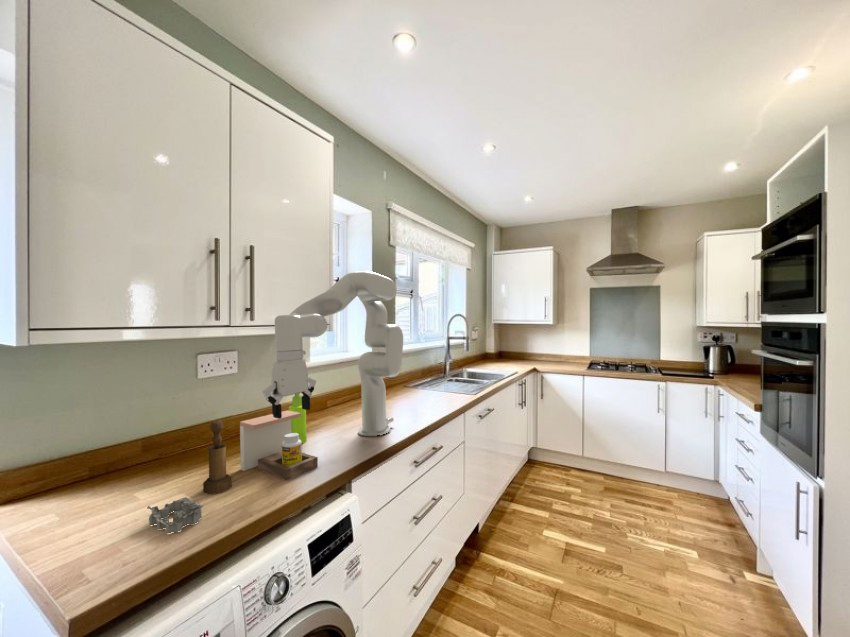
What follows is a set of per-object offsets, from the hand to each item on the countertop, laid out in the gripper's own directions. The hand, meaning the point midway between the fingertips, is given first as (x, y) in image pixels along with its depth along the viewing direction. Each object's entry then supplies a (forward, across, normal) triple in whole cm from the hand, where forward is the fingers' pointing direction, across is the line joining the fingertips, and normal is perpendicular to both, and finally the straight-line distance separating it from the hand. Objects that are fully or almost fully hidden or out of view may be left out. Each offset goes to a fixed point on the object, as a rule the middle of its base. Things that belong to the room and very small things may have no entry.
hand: (292, 413), depth 106 cm
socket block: (+17, +1, -2) cm, 17 cm away
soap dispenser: (+17, -15, -20) cm, 30 cm away
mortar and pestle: (+16, +19, -6) cm, 26 cm away
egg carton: (+16, +32, +3) cm, 36 cm away
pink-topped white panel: (+17, +1, -10) cm, 19 cm away
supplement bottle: (+17, +1, 0) cm, 17 cm away
